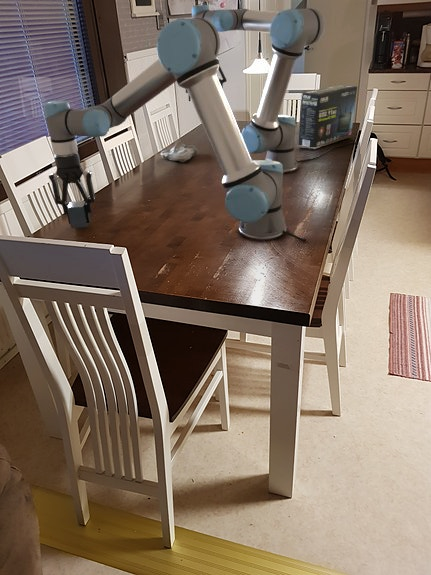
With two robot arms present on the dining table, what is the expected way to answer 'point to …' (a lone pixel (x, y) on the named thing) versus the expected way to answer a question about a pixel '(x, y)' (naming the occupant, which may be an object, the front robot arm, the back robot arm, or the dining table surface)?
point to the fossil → (179, 152)
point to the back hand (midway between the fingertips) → (204, 100)
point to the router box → (326, 115)
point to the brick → (77, 214)
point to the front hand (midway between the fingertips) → (80, 221)
